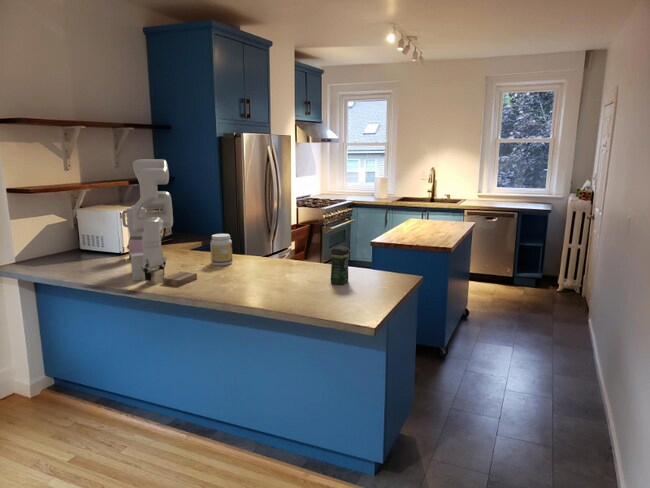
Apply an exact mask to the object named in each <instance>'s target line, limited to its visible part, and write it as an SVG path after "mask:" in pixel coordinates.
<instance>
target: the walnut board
mask: <svg viewBox="0 0 650 488" xmlns="http://www.w3.org/2000/svg"><path fill="white" fill-rule="evenodd" d="M196 280H198V274H197V273H196V272H188V271H178V272H175V273H173V274H170V275H168V276H164V278H163V282H162V285H167V286H174V287H181V286H183V285H186V284H188V283H191V282H193V281H196Z"/></svg>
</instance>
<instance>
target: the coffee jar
mask: <svg viewBox="0 0 650 488" xmlns="http://www.w3.org/2000/svg"><path fill="white" fill-rule="evenodd" d="M330 255H331V256H330V257H331V268H330V270H331V271H330V283H331V284H333V285H337V284H338V285H344V284H346V283H348V282H349V258H350V257H349V256H350V248H349V247H348V246H344V245H339V246H337V247H333V248H332V249H331V251H330Z"/></svg>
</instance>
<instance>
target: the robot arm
mask: <svg viewBox="0 0 650 488" xmlns="http://www.w3.org/2000/svg"><path fill="white" fill-rule="evenodd" d="M132 169H133V172H134V175H135V177H136V178H137V181H138V183H139V194H140V198H139V200H138V201H137V202H136V203H135V204H134V205H135V206H134V205H133V206H134V208H133V212H132V218H133V228H134V230H135V231H136V232H142V240H143V263H142V264H141V268H142V270H143V271H144V272H145V281H146V280H149V281H150V280H151V273H150V270H151V269H161V270H163V271H164V272H165V267H166V263H167V257H165V256H164V254H163V253H164V252H163V248H162V239H161V231H162V230H163V229H168V228H172V227H173V224H174V216H173V215H174V214H173V204H172V196H171V193H170V192H168V191H165V190H163V191H161V190H160V191H159V190H158V185H168V183H169V180H170V173H169V166H168V163H167V160H166V159H163V158H162V159H161V158H160V159H158V158H157V159H155V158H153V159H152V158H146V159H145V158H143V159H141V158H140V159H136V160H134V161H133V162H132ZM142 207H143V208H145V209H146V210H153V209H156V210H155V211H154V210H153V211H147V212H143V213H142V214H140V216H139V217H138V212H139V210H140V209H141V208H142ZM158 209H162V210H159V211H158Z"/></svg>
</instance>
